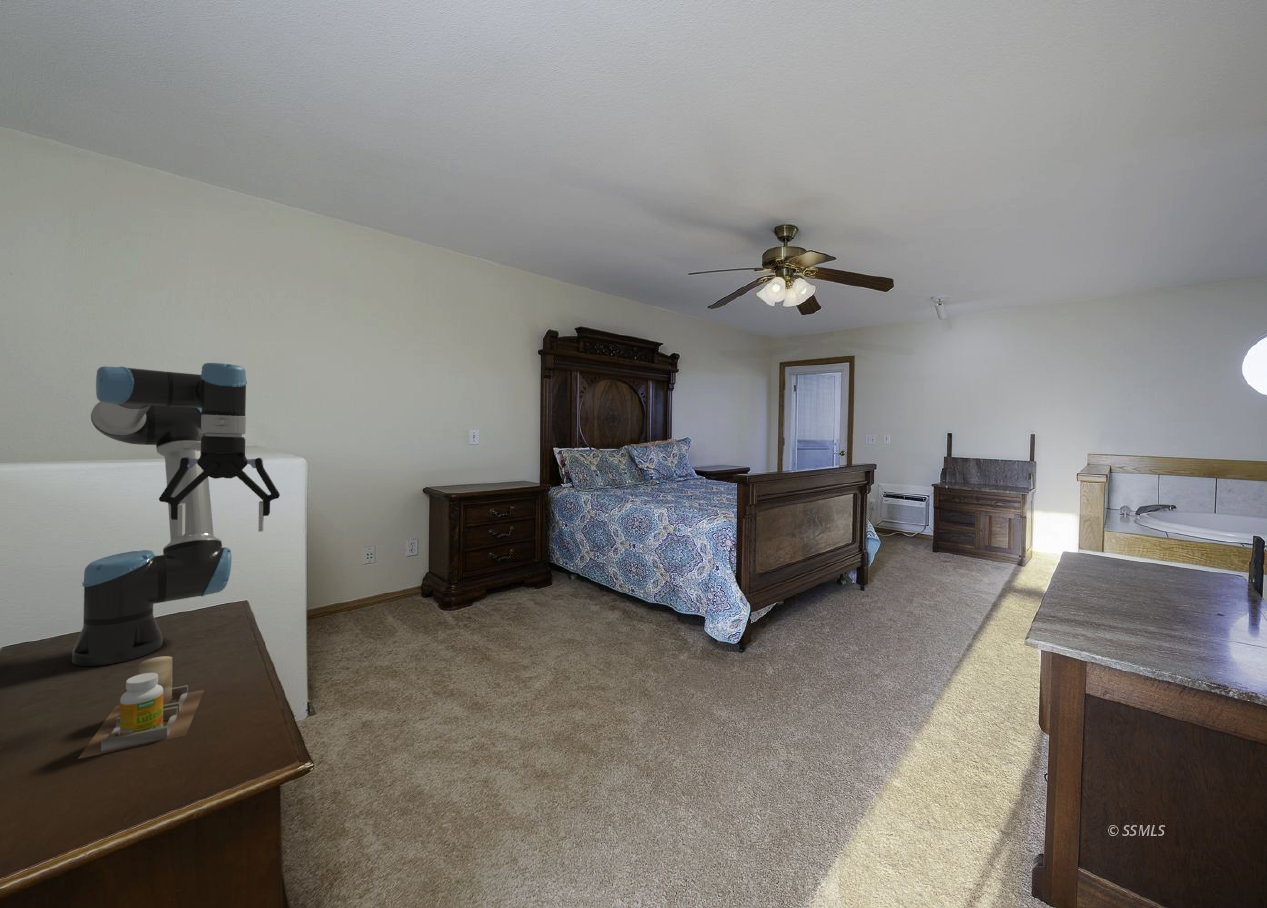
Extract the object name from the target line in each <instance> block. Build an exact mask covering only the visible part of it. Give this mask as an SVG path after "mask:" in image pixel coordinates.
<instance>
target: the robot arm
mask: <svg viewBox="0 0 1267 908" xmlns="http://www.w3.org/2000/svg"><path fill="white" fill-rule="evenodd" d="M246 373H247V372H246V369H245V368H244V367H243V366H241V365H237V364H232V363H231V364H230V363H224V362H223V363H222V362H221V363H219V362H206V363H205V362H204V364H202V367H201V373H200V374H197V373H188V372H187V373H186V372H175V371H174V372H173V371H163V370H155V369H154V370H153V369H143V368H131V367H125V366H105V365H104V366H99V367H98V369H97V370H96V377H95V378H96V379H95V393H96V399H97V401H99V402H97V403H96V404H95V405H94V407H93V408H92V410H91V413H90V419H91V420H90V421H91V423H92V425H93V427H94V428H95V429H96V431H98V432H100V433H101V434H102V435H104V436H106V437H107V438H110V439H112V440H116V441H118V442H122V443H125V444H130V445H138V446H139V445H141V446H142V445H143V446H144V445H146V446H156V447H155V448H156V452H157V454H158V455H160V456H163V457H164V465H165V478H166V479H165V480H166V487H165V488H164V489H163V492H162V493H161V495H160V496H159V497H158V500H159V502H160V503H167V507H168V509H167V510H168V520H169V521H168V522H169V523H168V524H169V534H170V535H169V536H170V538H169V539H170V541H169V543H168V544H166V545H165V546H164V547H163V549H162V555H161V554H160V555H155V553H154V551H152V550H147V549H146V550H145V549H144V550H135V551H134V550H132V551H127V552H126V551H125V552H121V553H116V554H112V555H108V556H105V557H101V558H99V559H96V560H94V561H92V562H90V563H89V564H87V565H86V567H85V568H84V572H83V573H84V574H83V581H82V583H81V584H82V587H83V627H82V628H81V631H80V634H79V636H78V637H77V640H76V642H75V645H74V647H73V649H72V653H71V663H72V664H74V665H76V666H81V667H96V666H104V665H112V664H116V663H118V664H119V663H122V662H127V661H130V660H135V659H138V658H141V657H143V656H146V655H147V656H148V654H151V653H154V652H155V651H157V650H159V649H160V648H162V646H163V645H164V643H163V633H162V631H161V629H160V627H159V625H158V622H157V620H156V618H155V616H154V605H155V604H161V603H168V602H171V601H172V602H173V601H178V600H184V599H190V598H197V597H205V596H207V595H211V594H212V595H214V594H218V593H221V592H222V591H224V590H225V588H226V587H227V585H228V582H229V580H230V579H229V578H230V575H231V572H232V550H231V549H230V547H225V546H224V547H223V543H222V542H223V541H222V540H221V539H220V538H218V537H216V536H214V535H215V534H214V526H213V513H212V503H211V493H210V491H211V490H210V481H209V477H210V479H211V478H212V479H213V480H214V479H215V480H217V479H222V478H224V479H233V478H238V479H239V480H240V481H242V482H243V483H244V484H245V485H246V486H247V487H248V488H249V489H250V490H251V491H252V492H253V493H254V494H255V495H256V496H258V498H260V499H261V500H260V501H259V502H258V531H257V532H260V533H261V532H264V526H265V525H264V522H265V517H269V515H270V513H271V501H274V500H277V499H279V498H280V496H281V493H280V492H279V491H278V489H277V487H276V485H275V484H274V482H273V481H272V479H271V477H270V476H269V473H268V472H267V471H266V469H265V468H264V460H263V458H262V457H257V458H250V459H249V458H247V457H246V438H245V437H244V436H243V435H245V434H246V424H247V423H246V420H247V419H246V418H247V417H246V410H247V409H246V408H247V407H246V402H247V397H246V396H247V395H246V394H247V384H248V381H247V374H246ZM248 465H250V466H251V468H252V469H256V472H257V473H258V475H259V477H260V479H261V480H262V482H263V483H264V485H265V487H266V489H267V490H268V491H269V493H270V494H268V493H267V492H265V490H263V488H261V487H260V486H259V485H258V484H257V483H256V482H255V481H254V480H253V479H252V478H251V477H250V476H249V475H248V474H247V473H246V472H245V470H244V469H245V468H246V467H247V466H248Z"/></svg>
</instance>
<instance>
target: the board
mask: <svg viewBox="0 0 1267 908" xmlns="http://www.w3.org/2000/svg"><path fill="white" fill-rule="evenodd" d="M204 692H205V689H201V690H195V691H190V692H189V685H188V684H185V685H180V686H174V687H172V703H170V704H165V705H163V727H159V728H154V729H149V730H144V731H140V732H135V733H130V734H125V735H120V704H119V705H115V706H114V707H113V709H112V711H110V713H109V714H108V716H107V718H105V720H104V722H103V723H101V726H100V727H99V728H98V730H97V732H96V733H94V736H93V737H92V738H91V740H90V741H89V743H87V745H86V747H85V748H84V749H83V751H82V752H81V754H80V755H79V757H78V758H77V760H80V759H86V758H89V757H94V756H99V755H103V754H107V753H112V752H117V751H122V750H125V749H130V748H131V749H132V748H137V747H139V746H144V745H149V744H153V743H158V742H163V741H168V740H172V739H178V738H181V737H182V738H183V737H185V736H186V735H187V733H188V730H189V728H190V725H191V723H192V721H193V719H194V716H195V713H196V711H197V710H198V707H199V705H200V702H201V700H202V697H203V695H204Z"/></svg>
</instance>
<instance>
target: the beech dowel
mask: <svg viewBox="0 0 1267 908" xmlns="http://www.w3.org/2000/svg"><path fill="white" fill-rule="evenodd" d="M145 673H157V674H158V683H157V684H158V685H161V686H162V687H163V705H165V704H170V703H172V688H173V657H172V656H169V655H167V656H166V655H165V656H162V655H161V656H157V657H152V658H148V659H146V660H143V661H141V662H139V664H138V675H140V674H145Z"/></svg>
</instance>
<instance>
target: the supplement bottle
mask: <svg viewBox="0 0 1267 908" xmlns="http://www.w3.org/2000/svg"><path fill="white" fill-rule="evenodd" d="M157 683H158V674H157V673H145V674H140V675H139V674H136V675H134V676H132V677H129V678H128V679H127V680H126V682H125V690H126V692H124V693H122V695H121V697H120V700H119V705H120V735H125V734H130V733H135V732H140V731H144V730H149V729H154V728H159V727H163V687H162V686H161V685H158V684H157Z"/></svg>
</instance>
